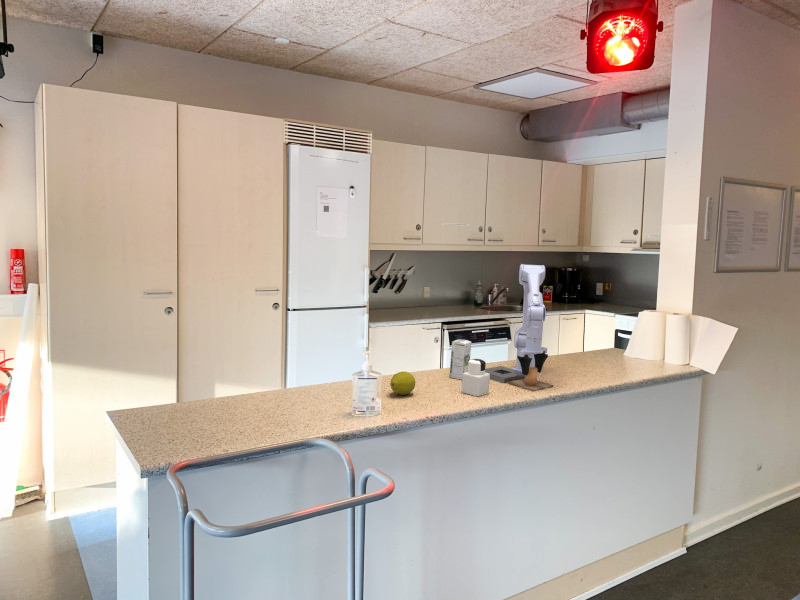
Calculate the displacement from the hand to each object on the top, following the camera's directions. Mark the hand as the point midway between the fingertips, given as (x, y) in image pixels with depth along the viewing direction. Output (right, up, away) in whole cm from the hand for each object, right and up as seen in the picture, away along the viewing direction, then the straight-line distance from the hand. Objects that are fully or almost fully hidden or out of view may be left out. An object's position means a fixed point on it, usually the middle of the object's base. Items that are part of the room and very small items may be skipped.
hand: (531, 373), depth 229 cm
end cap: (0, -4, +1) cm, 4 cm away
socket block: (-9, -3, +11) cm, 15 cm away
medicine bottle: (-23, -6, -13) cm, 27 cm away
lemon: (-49, -5, -19) cm, 53 cm away
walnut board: (0, -5, +1) cm, 5 cm away
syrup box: (-27, -3, +7) cm, 28 cm away
